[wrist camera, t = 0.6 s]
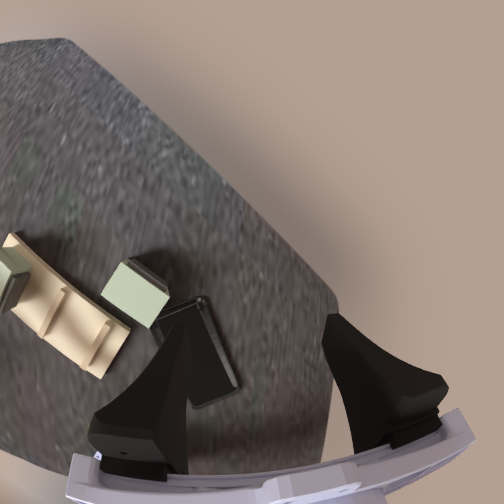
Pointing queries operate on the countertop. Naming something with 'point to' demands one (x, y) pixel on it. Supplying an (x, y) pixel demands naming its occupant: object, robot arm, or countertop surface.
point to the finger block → (137, 291)
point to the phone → (200, 352)
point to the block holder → (57, 309)
